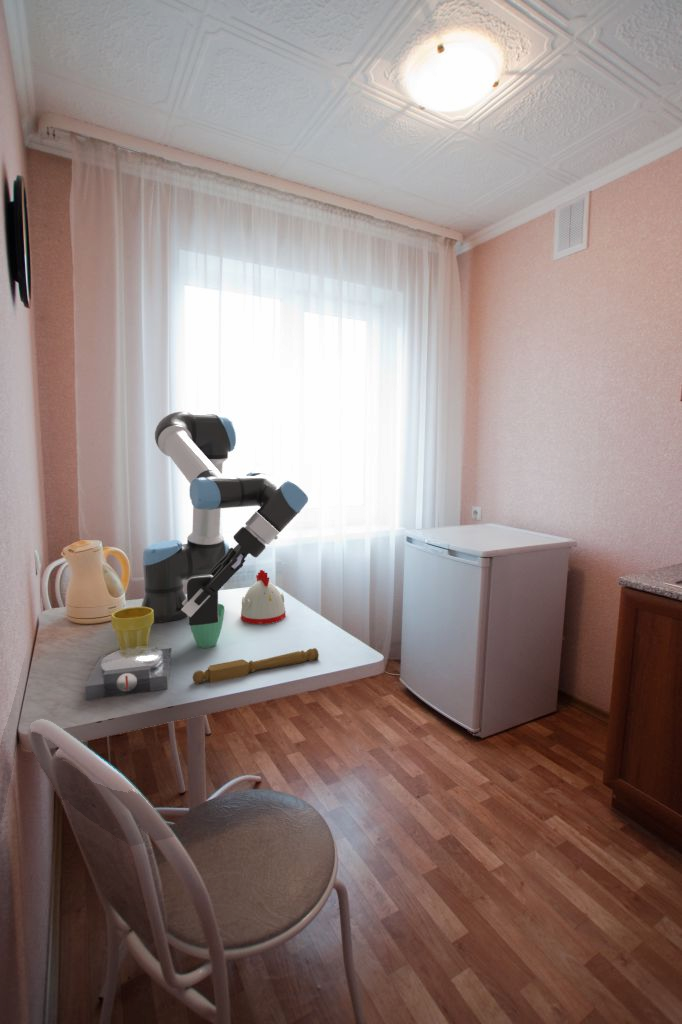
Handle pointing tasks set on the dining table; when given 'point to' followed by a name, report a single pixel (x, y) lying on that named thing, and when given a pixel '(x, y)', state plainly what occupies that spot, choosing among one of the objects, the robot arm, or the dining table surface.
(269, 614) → the kitchen timer
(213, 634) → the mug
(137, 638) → the plant pot
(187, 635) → the dining table surface
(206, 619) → the battery charger
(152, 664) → the scale
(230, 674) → the turned wooden baluster
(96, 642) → the dining table surface
